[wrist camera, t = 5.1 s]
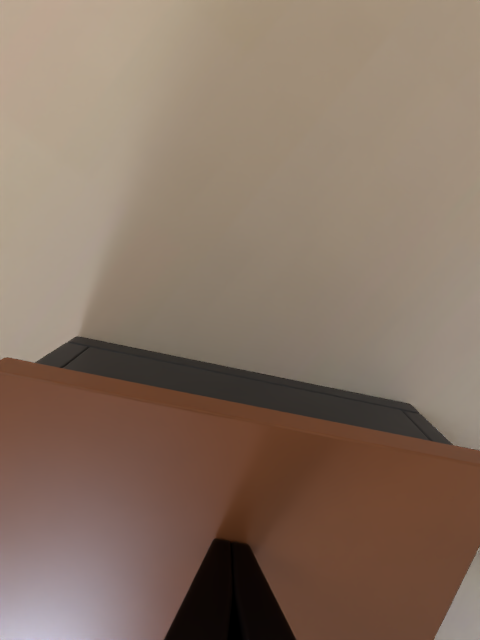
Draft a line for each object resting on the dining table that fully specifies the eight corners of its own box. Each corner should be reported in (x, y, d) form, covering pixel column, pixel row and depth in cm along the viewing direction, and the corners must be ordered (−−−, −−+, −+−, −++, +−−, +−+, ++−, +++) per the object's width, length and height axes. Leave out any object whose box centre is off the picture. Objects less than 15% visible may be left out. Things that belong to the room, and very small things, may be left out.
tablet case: (76, 335, 11) (15, 373, 8) (410, 403, 12) (474, 463, 9) (38, 646, 14) (-18, 763, 11) (308, 685, 15) (329, 806, 12)
